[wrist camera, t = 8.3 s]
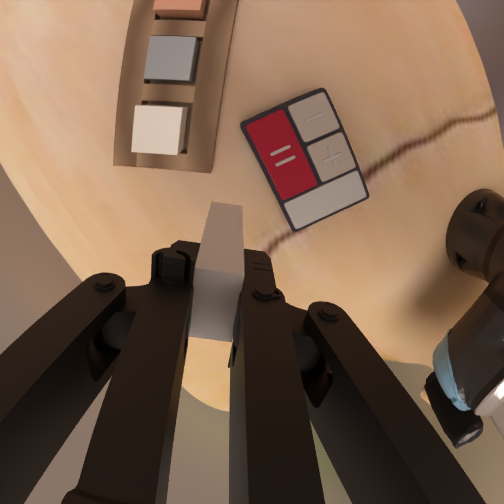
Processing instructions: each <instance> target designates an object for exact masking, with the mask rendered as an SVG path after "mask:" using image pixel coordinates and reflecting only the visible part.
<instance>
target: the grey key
mask: <svg viewBox="0 0 504 504" xmlns="http://www.w3.org/2000/svg"><path fill="white" fill-rule="evenodd" d="M199 46H200V43H199V41H198V40H197V38H196V37H183V36H150V40H149V46H148V52H147V59H146V65H145V72H144V79H148V80H152V81H175V82H191V83H194V77H195V70H196V64H197V58H198V52H199Z"/></svg>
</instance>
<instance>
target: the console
mask: <svg viewBox="0 0 504 504" xmlns="http://www.w3.org/2000/svg"><path fill="white" fill-rule="evenodd" d="M154 2H155V0H134V2H133V7H132V11H131V16H130V21H129V26H128V31H127V37H126V43H125V49H124V55H123V61H122V68H121V76H120V84H119V92H118V102H117V112H116V125H115V139H114V160H113V165H114V166H131V167H145V168H158V169H170V170H181V171H192V172H202V173H211V171H212V167H213V159H214V151H215V143H216V136H217V128H218V121H219V114H220V107H221V100H222V93H223V87H224V80H225V74H226V68H227V62H228V56H229V50H230V44H231V38H232V32H233V27H234V21H235V16H236V11H237V5H238V0H207V3H206V7H205V13H204V18H203V19H184V18H160V17H159V16H158V15H157V13H156V12H155V11H154V10H153V6H154ZM150 36H183V37H196V38H197V40H198V41H199V43H200V46H199V52H198V58H197V64H196V70H195V77H194V83H191V82H175V81H152V80H148V79H144V72H145V65H146V59H147V52H148V46H149V40H150ZM135 105H164V106H180V107H188V111H187V119H186V128H185V136H184V146H183V150H182V151H181V152H180V153H179V154H178V155H167V154H154V153H139V152H131V149H132V135H133V122H134V112H135Z"/></svg>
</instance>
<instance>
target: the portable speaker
mask: <svg viewBox="0 0 504 504" xmlns="http://www.w3.org/2000/svg"><path fill="white" fill-rule="evenodd" d="M425 390H426V393H427V396H428V398H429V401H430V404H431V407H432V409H433V411H434V413H435V415H436V417H437V419H438V421H439V423H440V425H441V426H442V428H443V430H444V432H445V434H446V435H447V436H448V438H449V439H450V440H451V442H452V443H453V446H454V447H455V448H456V449H457V448H459V447H460V446H462V445H464V444H466V443H469V442H472V441H473V440H475V439H476V438H478V437H479V436H480V434H482V431H483V422H482V419H481V417H480V415H476V414H475V413H474V411H473V410H472V408H471V409H470V410H466V411H462V410H460V409H458V408H457V407H456V406H455V405H454V404H453V403H452V401H451V398H448V397H447V395H446V394H445V392H444V391H443V389H442V387H441V385H440V383H439V381H438V379H437V376H436V374H435V371H434V372H432V373H431V374H430V375H429V376H428V378H427V379H426V386H425Z"/></svg>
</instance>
